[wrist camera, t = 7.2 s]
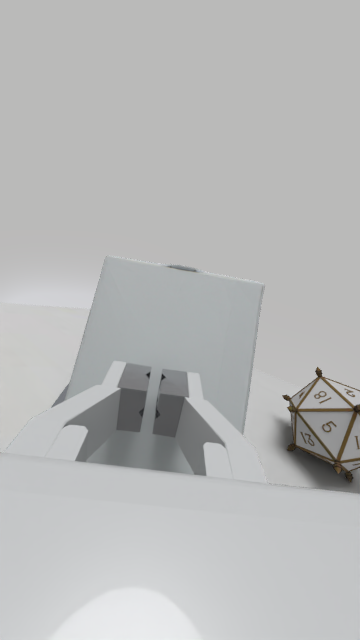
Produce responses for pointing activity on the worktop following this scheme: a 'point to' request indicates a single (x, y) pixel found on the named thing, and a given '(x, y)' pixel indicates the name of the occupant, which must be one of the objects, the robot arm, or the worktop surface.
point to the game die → (327, 423)
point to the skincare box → (169, 346)
